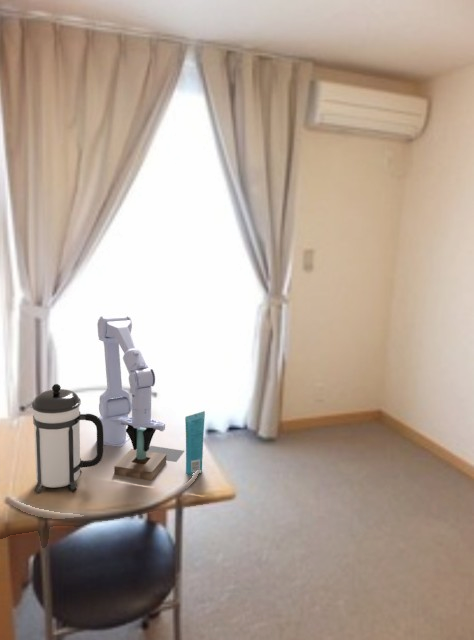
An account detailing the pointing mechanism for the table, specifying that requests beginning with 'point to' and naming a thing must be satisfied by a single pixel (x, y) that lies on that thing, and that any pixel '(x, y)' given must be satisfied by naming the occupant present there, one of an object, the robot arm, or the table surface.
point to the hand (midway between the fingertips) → (141, 449)
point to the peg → (140, 444)
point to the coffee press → (60, 438)
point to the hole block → (140, 465)
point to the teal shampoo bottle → (194, 442)
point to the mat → (167, 452)
